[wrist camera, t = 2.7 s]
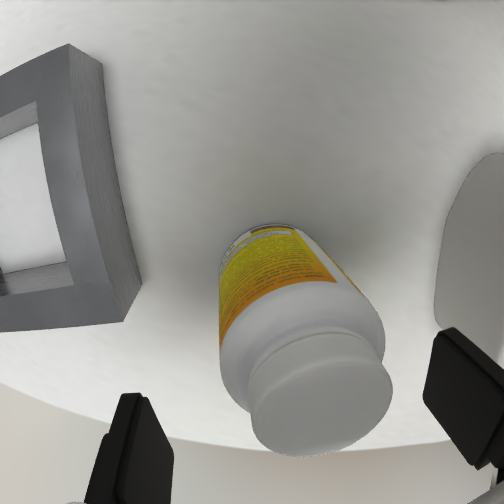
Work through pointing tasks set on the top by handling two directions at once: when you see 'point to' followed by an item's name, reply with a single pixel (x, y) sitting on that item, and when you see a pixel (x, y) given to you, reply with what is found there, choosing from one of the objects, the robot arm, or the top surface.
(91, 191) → the cinder block
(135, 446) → the robot arm
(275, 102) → the top surface
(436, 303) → the lumpy-topped squat cylinder
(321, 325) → the supplement bottle
